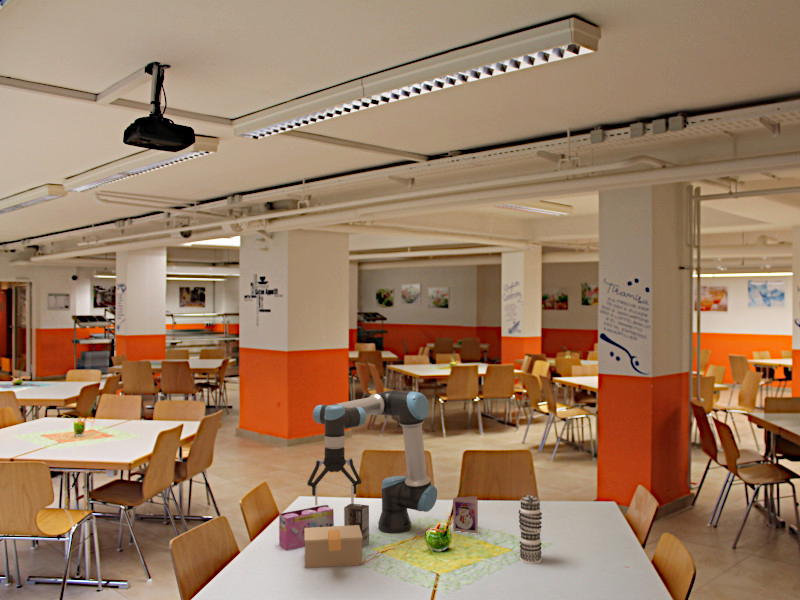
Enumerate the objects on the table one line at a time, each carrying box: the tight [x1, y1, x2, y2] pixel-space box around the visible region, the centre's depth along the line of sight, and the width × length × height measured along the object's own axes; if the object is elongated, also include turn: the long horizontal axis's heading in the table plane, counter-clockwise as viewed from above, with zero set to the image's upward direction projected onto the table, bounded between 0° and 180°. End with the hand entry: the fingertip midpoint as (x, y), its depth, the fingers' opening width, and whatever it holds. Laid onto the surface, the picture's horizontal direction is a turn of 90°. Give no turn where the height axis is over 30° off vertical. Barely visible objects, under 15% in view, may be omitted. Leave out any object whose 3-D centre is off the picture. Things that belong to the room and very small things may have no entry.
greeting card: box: [452, 495, 479, 534], centre depth 289 cm, size 11×7×15 cm, turn 68°
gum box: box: [278, 504, 335, 551], centre depth 274 cm, size 24×8×14 cm, turn 124°
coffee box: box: [343, 502, 370, 548], centre depth 272 cm, size 9×6×16 cm
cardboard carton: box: [304, 539, 363, 569], centre depth 255 cm, size 22×14×10 cm, turn 99°
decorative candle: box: [518, 494, 543, 565], centre depth 254 cm, size 9×9×25 cm
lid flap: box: [304, 525, 362, 551], centre depth 249 cm, size 22×25×4 cm
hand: (334, 503), depth 240 cm, fingers open, 13 cm apart
